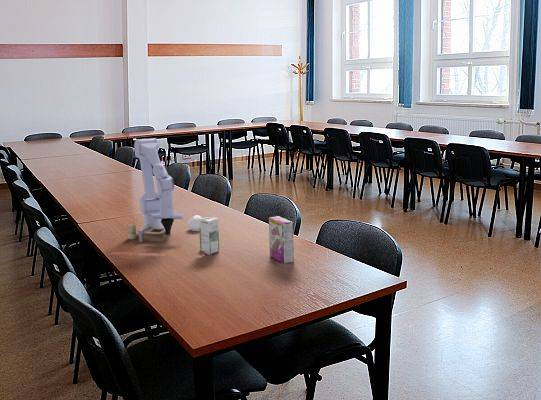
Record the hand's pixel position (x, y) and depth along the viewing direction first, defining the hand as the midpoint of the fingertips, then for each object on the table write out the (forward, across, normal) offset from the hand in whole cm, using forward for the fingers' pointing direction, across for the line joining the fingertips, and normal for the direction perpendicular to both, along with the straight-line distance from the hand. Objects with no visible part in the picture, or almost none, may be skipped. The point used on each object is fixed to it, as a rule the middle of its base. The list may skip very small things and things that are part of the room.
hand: (168, 234), depth 248 cm
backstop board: (+3, -2, 0) cm, 4 cm away
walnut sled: (+2, -5, 0) cm, 6 cm away
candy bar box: (+3, +54, -20) cm, 58 cm away
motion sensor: (+3, +8, +16) cm, 18 cm away
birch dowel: (+3, -17, -1) cm, 17 cm away
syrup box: (+3, +23, -14) cm, 27 cm away
